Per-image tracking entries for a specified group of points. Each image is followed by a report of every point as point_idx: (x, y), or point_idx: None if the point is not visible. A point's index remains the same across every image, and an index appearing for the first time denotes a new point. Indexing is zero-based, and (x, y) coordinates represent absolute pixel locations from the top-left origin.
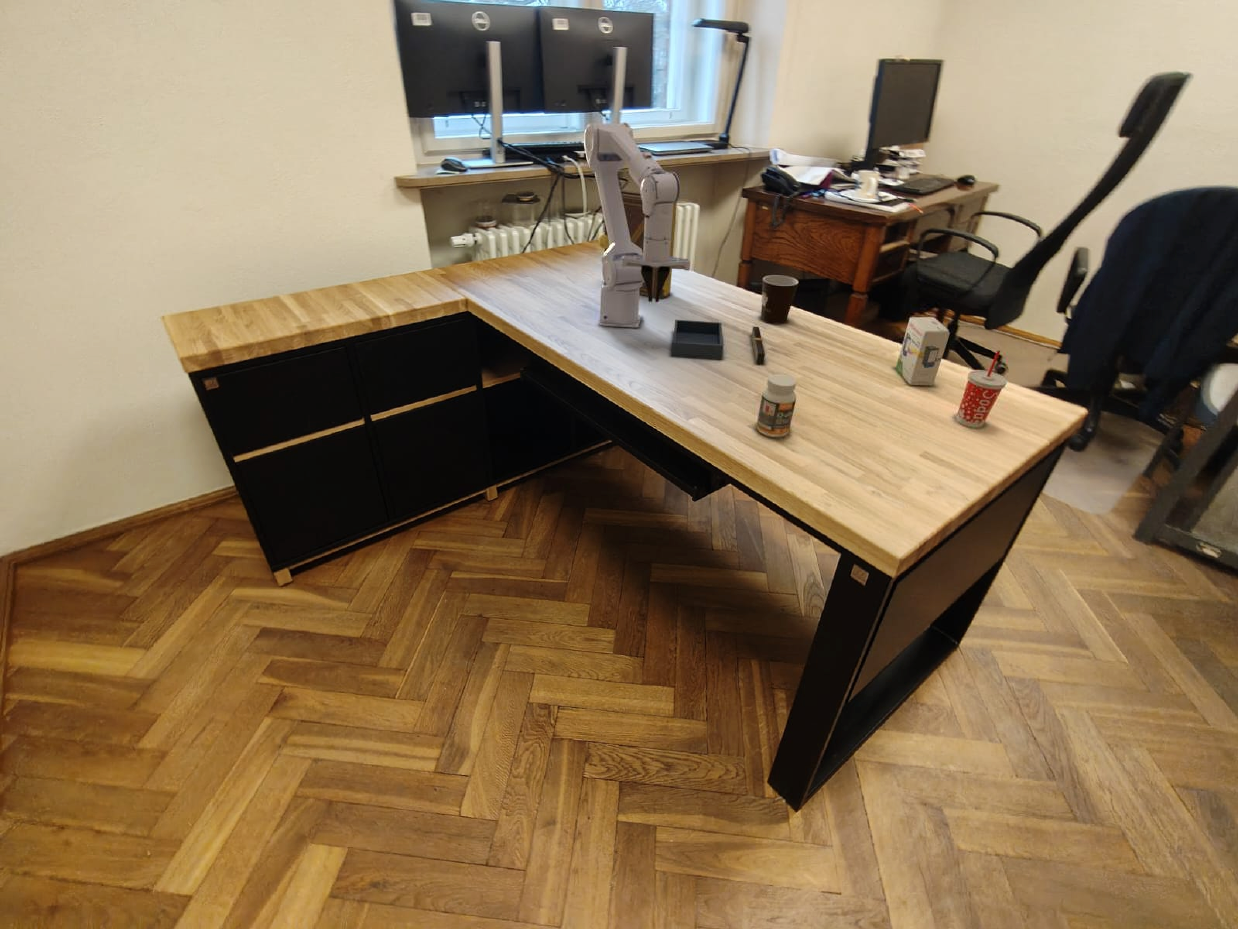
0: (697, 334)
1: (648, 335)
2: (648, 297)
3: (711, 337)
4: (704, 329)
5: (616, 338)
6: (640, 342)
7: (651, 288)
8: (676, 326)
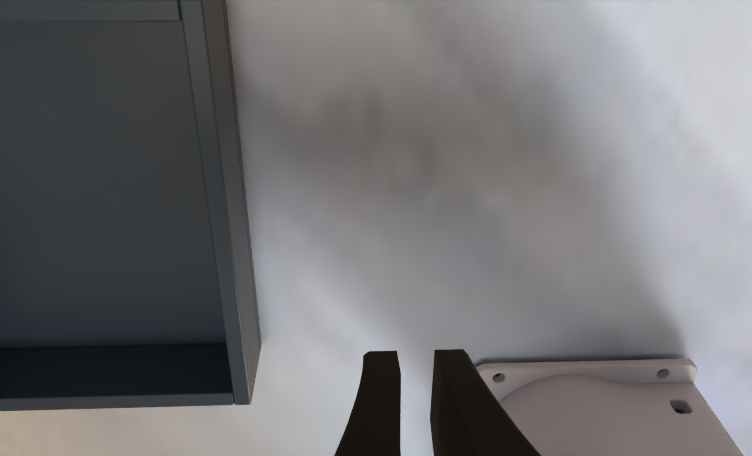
0: (110, 328)
1: (410, 285)
2: (479, 375)
3: (13, 302)
4: (63, 363)
5: (609, 212)
6: (457, 179)
7: (471, 452)
8: (223, 304)
